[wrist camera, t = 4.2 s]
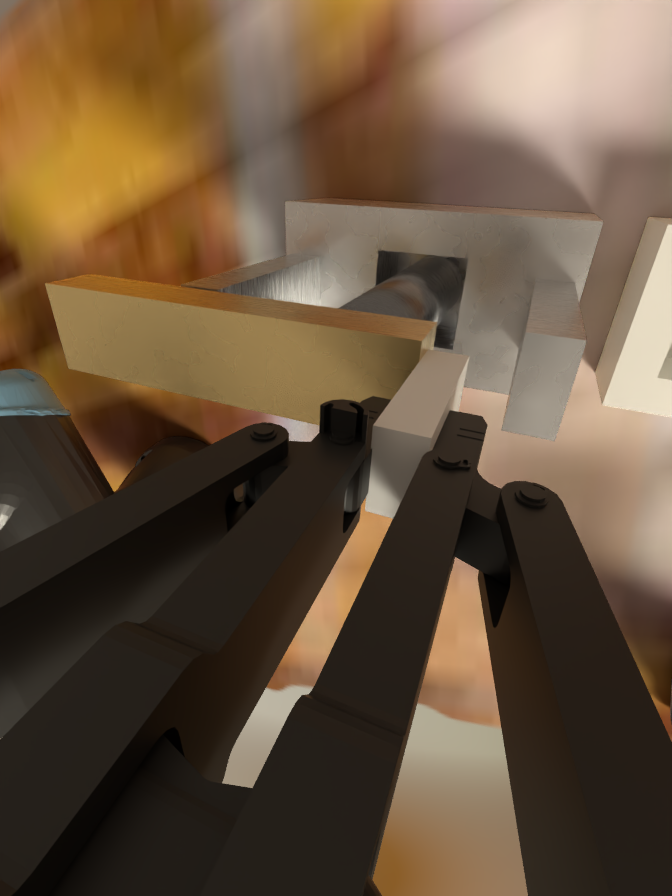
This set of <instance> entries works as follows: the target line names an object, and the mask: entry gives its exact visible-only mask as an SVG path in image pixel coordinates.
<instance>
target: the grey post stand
mask: <svg viewBox="0 0 672 896" xmlns="http://www.w3.org/2000/svg"><path fill="white" fill-rule="evenodd" d="M603 222H604V221H602V220H601V219H600V218H599V217H597V216H596V215H595V214H592V213H575V212H558V211H541V210H524V209H508V208H491V207H474V206H457V205H441V204H424V203H407V202H390V201H374V200H357V199H340V198H320V199H307V200H294V201H285V231H286V256H282V257H279V258H275V259H272V260H268V261H264V262H261V263H257V264H254V265H250V266H246V267H243V268H239V269H236V270H232V271H229V272H225V273H221V274H218V275H214V276H211V277H207V278H203V279H200V280H196V281H193V282H189V283H186V284H182V285H181V287H187V288H195V289H202V290H209V291H216V292H223V293H231V294H238V295H245V296H252V297H259V298H267V299H274V300H281V301H288V302H295V303H303V304H310V305H317V306H324V307H331V308H340V307H341V306H343V305H345V304H346V303H348V302H350V301H351V300H353V299H355V298H357V297H358V296H360V295H362V294H363V293H365V292H367V291H368V290H370V289H372V288H373V287H375V286H377V285H379V284H380V283H382V282H384V281H385V280H387V279H389V278H390V277H392V276H394V275H395V274H397V273H399V272H401V271H402V270H404V269H406V268H407V267H409V266H411V265H412V264H414V263H416V262H417V261H419V260H421V259H423V258H425V257H428V256H441V257H445V258H447V259H449V260H450V261H452V262H453V263H454V264H455V265H456V267H457V268H458V270H459V272H460V274H461V278H462V291H461V294H460V297H459V299H458V301H457V302H456V304H455V305H454V306H453V307H452V309H451V310H450V311H449V312H448V314H447V315H446V316H445V317H444V319H443V320H442V321H441V322H440V324H439V325H438V326H437V328H436V334H435V341H434V348H433V350H435V351H442V352H448V353H454V354H460V355H466V356H469V361H468V366H467V371H466V376H465V381H464V386H463V387H468V388H473V389H479V390H485V391H490V392H496V393H501V394H507V395H509V397H508V402H507V406H506V411H505V416H504V421H503V425H502V431H507V432H512V433H517V434H522V435H527V436H531V437H536V438H541V439H546V440H551V441H555V439H556V436H557V433H558V430H559V427H560V423H561V420H562V417H563V414H564V411H565V408H566V405H567V402H568V398H569V395H570V392H571V389H572V386H573V383H574V380H575V377H576V374H577V370H578V367H579V364H580V361H581V358H582V355H583V352H584V349H585V345H586V342H587V338H586V333H585V328H584V323H583V319H582V314H581V309H580V304H579V302H580V299H581V296H582V292H583V289H584V286H585V282H586V279H587V275H588V272H589V269H590V265H591V262H592V259H593V255H594V252H595V249H596V245H597V242H598V239H599V235H600V232H601V229H602V225H603Z"/></svg>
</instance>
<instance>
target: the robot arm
mask: <svg viewBox="0 0 672 896" xmlns="http://www.w3.org/2000/svg"><path fill="white" fill-rule="evenodd" d="M468 361H469V356H466V355H460V354H454V353H448V352H442V351H435V350H429V349H428V351H427V352H426V353H425V355H424V356H423V357H422V359H421V360H420V361H419V363H418V364H417V366H416V367H415V368H414V370H413V371H412V372H411V374H410V375H409V377H408V378H407V379H406V381H405V382H404V383H403V385H402V386H401V388H400V389H399V390H398V392H397V393H396V394H395V396H394V397H393V399H392V400H391V399H386V398H381V397H376V396H372V397H369V398H367V399H365V400H362V401H361V402H360V403H359V402H356V401H353V400H345V399H339V400H331V401H327V402H325V403H323V404H321V405H320V430H319V434H318V435H317V436H316V437H315V438H314V439H313V440H312V441H311V442H298V441H289V433H288V431H287V430H286V429H285V428H284V427H282V426H280V425H277V424H273V423H259V424H253V425H250V426H247V427H245V428H243V429H241V430H239V431H237V432H235V433H233V434H231V435H229V436H227V437H225V438H223V439H221V440H219V441H217V442H215V443H213V444H211V445H210V446H208V445H207V444H205V443H203V442H200V441H198V440H195V439H192V438H188V437H181V436H174V437H168V438H165V439H163V440H161V441H159V442H158V443H156V444H155V445H153V446H152V447H150V448H149V449H147V450H146V451H145V452H144V453H143V454H142V455H141V456H140V458H139V459H138V461H137V463H136V465H135V468H134V469H133V470H132V471H131V472H130V473H129V474H128V476H127V477H126V478H125V480H124V481H123V482H122V484H121V485H120V487H119V488H118V490H117V491H115V492H114V491H113V490H112V488H111V486H110V484H109V483H108V481H107V479H106V478H105V476H104V474H103V473H102V471H101V469H100V467H99V466H98V464H97V462H96V461H95V459H94V457H93V456H92V454H91V452H90V451H89V449H88V447H87V445H86V444H85V442H84V440H83V439H82V437H81V435H80V434H79V432H78V430H77V429H76V427H75V425H74V423H73V422H72V420H71V418H70V417H69V416H70V415H71V414H70V412H69V410H67V409H65V408H64V407H63V405H62V404H61V402H60V401H59V399H58V398H57V396H56V395H55V393H54V392H53V390H52V389H51V387H50V386H49V384H48V383H47V381H46V380H45V379H44V378H43V377H42V376H40V375H39V374H37V373H35V372H33V371H30V370H26V369H10V370H3V371H0V738H1V739H0V896H382V895H381V893H380V892H379V890H378V888H377V887H376V885H375V884H374V882H373V880H372V879H373V874H374V871H375V867H376V863H377V859H378V855H379V850H380V846H381V843H382V838H383V834H384V830H385V826H386V822H387V818H388V814H389V811H390V807H391V803H392V799H393V795H394V791H395V787H396V783H397V779H398V776H399V772H400V768H401V763H402V760H403V756H404V752H405V748H406V745H407V740H408V737H409V733H410V729H411V725H412V721H413V717H414V714H415V710H416V706H417V702H418V698H419V694H420V690H421V686H422V683H423V679H424V675H425V671H426V667H427V663H428V659H429V655H430V651H431V648H432V644H433V640H434V636H435V632H436V628H437V624H438V620H439V617H440V613H441V609H442V605H443V601H444V597H445V593H446V589H447V586H448V582H449V578H450V574H451V571H452V568H453V564H454V559H455V557H457V558H458V559H460V560H462V561H464V562H465V563H467V564H469V565H471V566H473V567H474V568H476V569H478V570H479V573H478V583H479V589H480V595H481V601H482V608H483V614H484V620H485V627H486V633H487V639H488V646H489V652H490V658H491V665H492V671H493V677H494V683H495V690H496V696H497V702H498V709H499V715H500V721H501V728H502V734H503V740H504V747H505V753H506V759H507V765H508V771H509V778H510V784H511V790H512V797H513V803H514V810H515V815H516V822H517V829H518V835H519V841H520V847H521V854H522V859H523V866H524V872H525V879H526V885H527V892H528V896H672V742H671V740H670V737H669V735H668V733H667V731H666V729H665V726H664V724H663V722H662V720H661V718H660V715H659V713H658V711H657V709H656V707H655V705H654V702H653V700H652V698H651V696H650V694H649V691H648V689H647V687H646V685H645V683H644V680H643V678H642V676H641V674H640V672H639V669H638V667H637V665H636V663H635V661H634V658H633V656H632V654H631V652H630V650H629V647H628V645H627V643H626V641H625V639H624V636H623V634H622V632H621V630H620V628H619V625H618V623H617V621H616V619H615V617H614V614H613V612H612V610H611V608H610V606H609V603H608V601H607V599H606V597H605V595H604V592H603V590H602V588H601V586H600V584H599V581H598V579H597V577H596V575H595V573H594V570H593V568H592V566H591V564H590V562H589V559H588V557H587V555H586V553H585V551H584V548H583V546H582V544H581V542H580V540H579V537H578V535H577V533H576V531H575V529H574V526H573V524H572V522H571V520H570V518H569V515H568V513H567V511H566V509H565V507H564V504H563V502H562V501H561V499H560V498H559V497H558V495H557V494H555V493H554V492H552V491H551V490H550V489H548V488H546V487H544V486H542V485H539V484H536V483H531V482H526V481H514V482H511V483H507V484H506V485H505V486H503V487H502V489H500V488H498V487H496V486H494V485H492V484H490V483H488V482H487V481H486V480H484V479H483V478H482V477H481V476H480V474H479V473H478V471H477V467H478V463H479V459H480V454H481V450H482V446H483V442H484V437H485V433H486V429H487V424H486V422H485V420H484V419H483V417H482V416H477V415H472V414H467V413H462V412H459V407H460V402H461V397H462V391H463V386H464V381H465V376H466V371H467V366H468ZM365 498H366V506H365V511H368V512H371V513H375V514H379V515H382V516H386V517H389V518H393V520H392V522H391V525H390V527H389V529H388V531H387V533H386V535H385V537H384V539H383V542H382V544H381V546H380V548H379V550H378V552H377V554H376V556H375V559H374V561H373V563H372V565H371V567H370V569H369V571H368V573H367V576H366V578H365V580H364V582H363V584H362V586H361V588H360V590H359V593H358V595H357V597H356V599H355V601H354V603H353V605H352V607H351V610H350V612H349V614H348V616H347V618H346V620H345V622H344V624H343V627H342V629H341V631H340V633H339V635H338V637H337V639H336V641H335V644H334V646H333V648H332V650H331V652H330V654H329V656H328V659H327V661H326V663H325V665H324V667H323V669H322V671H321V673H320V676H319V678H318V680H317V682H316V684H315V686H314V688H313V689H312V691H311V692H310V693H309V695H302V696H301V697H300V698H299V699H298V701H297V702H296V703H295V705H294V707H293V708H292V710H291V712H290V714H289V716H288V717H287V720H286V722H285V724H284V726H283V728H282V730H281V732H280V734H279V736H278V738H277V740H276V742H275V744H274V746H273V748H272V750H271V752H270V754H269V756H268V758H267V760H266V762H265V764H264V766H263V768H262V770H261V772H260V774H259V777H258V779H257V780H256V782H255V784H254V786H253V788H247V787H241V786H235V785H229V784H222V781H223V779H224V775H225V771H226V767H227V763H228V759H229V756H230V753H231V751H232V748H233V746H234V744H235V742H236V740H237V738H238V736H239V735H240V733H241V731H242V729H243V728H244V726H245V724H246V722H247V720H248V719H249V717H250V715H251V713H252V711H253V710H254V708H255V706H256V704H257V702H258V701H259V699H260V697H261V695H262V694H263V692H264V690H265V688H266V686H267V685H268V683H269V681H270V679H271V678H272V676H273V674H274V672H275V670H276V669H277V667H278V665H279V663H280V661H281V660H282V658H283V656H284V654H285V652H286V651H287V649H288V647H289V645H290V644H291V642H292V640H293V638H294V636H295V635H296V633H297V631H298V629H299V627H300V626H301V624H302V622H303V620H304V619H305V617H306V615H307V613H308V611H309V610H310V608H311V606H312V604H313V602H314V601H315V599H316V597H317V595H318V593H319V592H320V590H321V588H322V586H323V585H324V583H325V581H326V579H327V577H328V576H329V574H330V572H331V570H332V568H333V567H334V565H335V563H336V561H337V560H338V558H339V556H340V554H341V552H342V551H343V549H344V547H345V545H346V543H347V542H348V540H349V538H350V536H351V534H352V533H353V531H354V529H355V527H356V526H357V524H358V522H359V518H360V511H361V504H362V503H363V501H364V499H365Z"/></svg>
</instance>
